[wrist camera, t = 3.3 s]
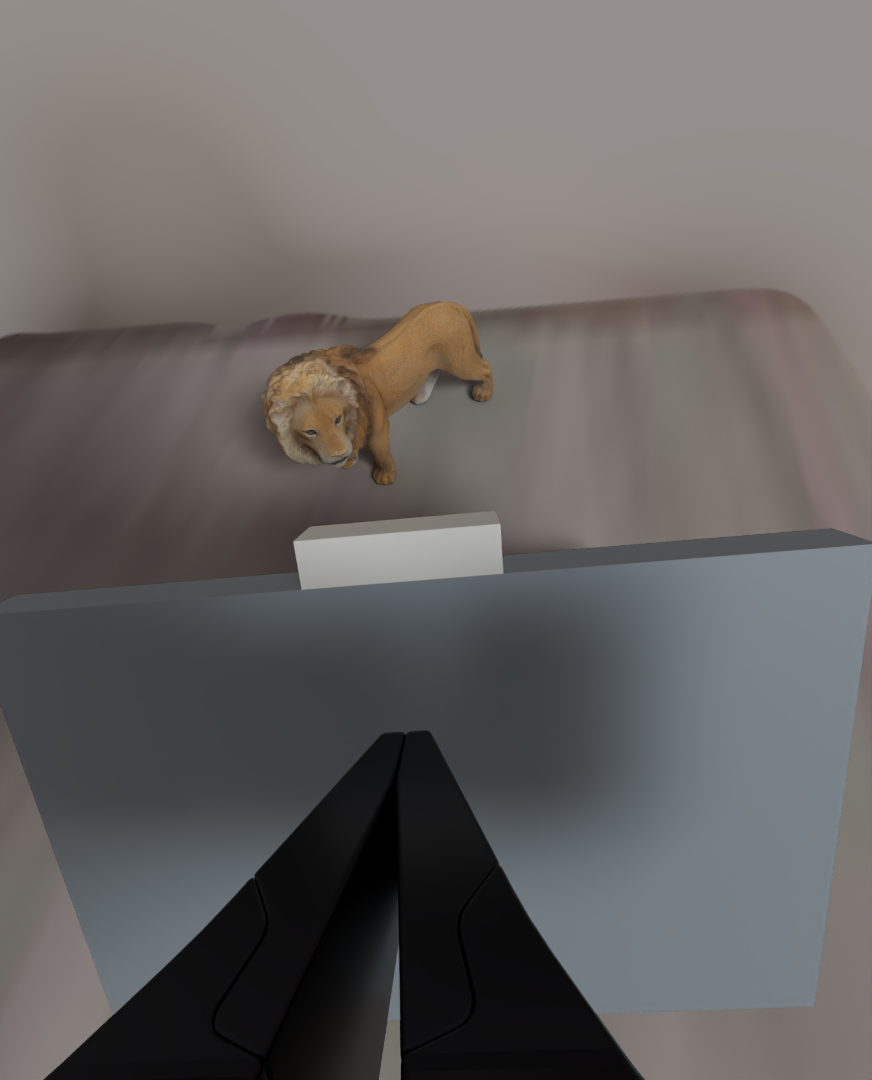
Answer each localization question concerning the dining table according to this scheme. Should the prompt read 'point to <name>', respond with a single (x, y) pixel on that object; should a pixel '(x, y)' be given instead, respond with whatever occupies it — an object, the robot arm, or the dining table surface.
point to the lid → (469, 738)
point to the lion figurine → (370, 387)
